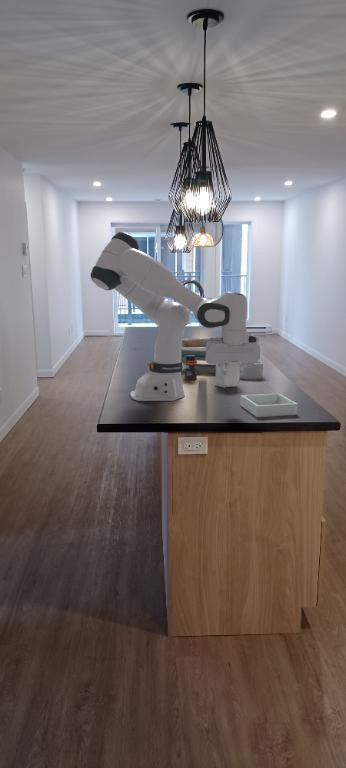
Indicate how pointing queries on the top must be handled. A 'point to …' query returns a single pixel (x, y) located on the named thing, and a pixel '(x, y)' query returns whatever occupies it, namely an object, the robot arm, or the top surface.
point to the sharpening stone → (199, 356)
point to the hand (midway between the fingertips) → (232, 374)
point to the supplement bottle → (190, 368)
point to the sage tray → (268, 405)
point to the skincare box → (220, 377)
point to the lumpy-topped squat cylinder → (253, 370)
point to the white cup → (232, 373)
